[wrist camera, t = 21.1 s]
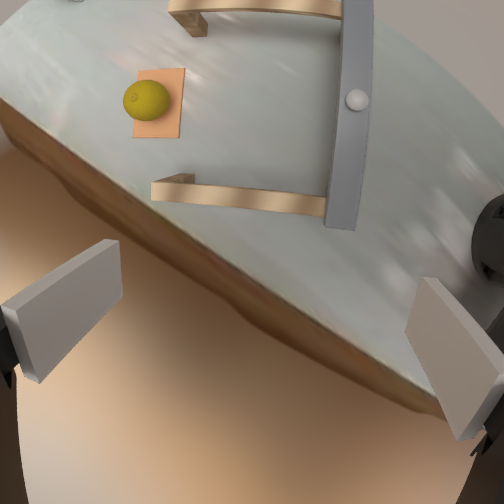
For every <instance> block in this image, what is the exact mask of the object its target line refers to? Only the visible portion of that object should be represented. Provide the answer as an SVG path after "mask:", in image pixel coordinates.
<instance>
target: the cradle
mask: <svg viewBox="0 0 504 504" xmlns="http://www.w3.org/2000/svg"><path fill="white" fill-rule="evenodd" d="M219 11H253V12H275V13H289V14H300V15H309V16H317V17H324V18H331V19H337V20H341V2H339V1H333V0H170V1H169V6H168V13H169V14H170V15H171V16H172V17H173V18H174V19H175V20H176V21H177V22H178V23H179V24H180V25H181V26H182V27H183V28H184V29H185V30H186V31H187V32H188V33H189V34H190V35H191V36H192V37H203V36H207V28H208V24H207V22H206V21H205V19H204V18H203V17H202V15H201V14H200V13H199V12H219ZM327 189H328V188H327ZM326 197H327V196H326ZM326 197H324V196H316V195H308V194H300V193H291V192H282V191H273V190H264V189H253V188H243V187H232V186H220V185H207V184H194V174H177V175H174V176H171V177H167V178H164V179H161V180H157V181H154V182H151V200H155V201H168V202H181V203H193V204H205V205H216V206H227V207H237V208H247V209H257V210H266V211H275V212H284V213H293V214H302V215H310V216H318V217H324V212H325V204H326Z"/></svg>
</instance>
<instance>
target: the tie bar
mask: <svg viewBox="0 0 504 504" xmlns="http://www.w3.org/2000/svg"><path fill="white" fill-rule="evenodd" d="M373 11H374V10H373V0H341V34H340V56H339V73H338V88H337V101H336V113H335V125H334V135H333V145H332V155H331V164H330V172H329V181H328V189H327V197H326V204H325V212H324V219H323V223H324V226H325V227H328V228H336V229H343V230H351V231H355V227H356V221H357V214H358V208H359V201H360V195H361V188H362V180H363V173H364V165H365V156H366V147H367V138H368V127H369V116H370V103H371V89H372V70H373V35H374V12H373Z"/></svg>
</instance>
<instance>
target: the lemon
mask: <svg viewBox="0 0 504 504" xmlns="http://www.w3.org/2000/svg"><path fill="white" fill-rule="evenodd" d="M123 105H124V108H125V110H126V112H127V113H128V114H129V115H130V116H131V117H132V118H134V119H136V120H139V121H152V120H155V119H157V118H159V117H161V116H162V115H163V114H164V113H165V112H166V110H167V108H168V105H169V94H168V91H167V89H166V88H165V87H164V86H163V85H162V84H161V83H159V82H157V81H154V80H141V81H137V82H135V83H134V84H132V85H131V86H130V87H129V88H128V89H127V90H126V92H125V95H124V98H123Z"/></svg>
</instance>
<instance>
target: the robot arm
mask: <svg viewBox="0 0 504 504" xmlns="http://www.w3.org/2000/svg"><path fill="white" fill-rule="evenodd" d="M472 258H473V262H474V265H475V268H476V270H477V271H478V273H479V274H480V275H481V276H482V277H483V278H484V279H485V280H486V281H487V282H489V283H490V284H492V285H494V286H497V287H502V288H504V195H501V196H499V197H497V198H495V199H494V200H492V201H491V202H490V203H489V204H488V205H487V206H486V208H485V209H484V210H483V212H482V213H481V215H480V217H479V219H478V221H477V224H476V226H475V230H474V233H473V239H472ZM122 297H123V290H122V278H121V265H120V249H119V241H117V240H108V239H104V240H103V241H101V242H99V243H97V244H96V245H94V246H92V247H90V248H89V249H87V250H85V251H84V252H82V253H80V254H79V255H77V256H75V257H74V258H72V259H70V260H69V261H67V262H66V263H64V264H63V265H61V266H59V267H57V268H56V269H54V270H53V271H51V272H49V273H48V274H46V275H45V276H43V277H42V278H40V279H39V280H37V281H35V282H34V283H32V284H31V285H29V286H28V287H26V288H25V289H24V290H22V291H20V292H19V293H18V294H16V295H15V296H13V297H12V298H10V299H9V300H7V301H6V302H4V303H3V304H1V305H0V504H29V502H28V498H27V493H26V488H25V482H24V477H23V469H22V462H21V455H20V446H19V435H18V422H17V397H16V396H17V395H16V393H17V392H16V380H17V379H16V373H15V371H14V367H15V366H16V365H17V364H18V363H19V364H20V366H21V369H22V372H23V374H24V377H27V378H28V379H31V380H33V381H35V382H37V383H39V384H40V383H41V382H42V381H43V380H44V379H45V378H46V377H47V375H48V374H49V373H50V372H51V371H52V370H53V369H54V368H55V367H56V366H57V364H58V363H59V362H60V361H61V360H62V359H63V358H64V357H65V356H66V355H67V354H68V353H69V352H70V351H71V350H72V348H73V347H74V346H75V345H76V344H77V343H78V342H79V341H80V340H81V339H82V338H83V337H84V336H85V335H86V334H87V333H88V332H89V331H90V330H91V329H92V328H93V327H94V326H95V324H97V322H98V321H99V320H100V319H101V318H102V317H103V316H104V315H105V314H106V313H107V312H108V311H109V310H110V309H111V308H112V307H113V306H114V305H115V304H116V303H117V302H118V301H119V300H120V299H121V298H122ZM405 333H406V335H407V337H408V339H409V341H410V343H411V345H412V347H413V349H414V351H415V353H416V355H417V357H418V359H419V361H420V363H421V365H422V367H423V369H424V371H425V373H426V375H427V377H428V379H429V381H430V383H431V385H432V388H433V390H434V392H435V394H436V396H437V398H438V401H439V403H440V405H441V407H442V409H443V412H444V414H445V416H446V419H447V421H448V423H449V426H450V428H451V430H452V433H453V435H454V438H455V440H456V441H462V440H467V439H473V438H474V437H475V436H476V435H477V433H478V432H479V431H480V429H481V428H482V426H483V427H484V428H485V429H486V431H487V433H486V435H485V436H484V437H483V439H482V440H481V441H480V442H479V444H478V445H477V446H476V448H475V449H474V450H473V451H472V453H471V454H470V456H473V455H474V454H475V453H476V452H477V455H476V457H475V460H474V463H473V466H472V468H471V470H470V473H469V475H468V478H467V480H466V482H465V485H464V487H463V489H462V491H461V493H460V496H459V498H458V500H457V502H456V504H504V307H503V309H502V310H501V312H500V313H499V314H498V316H497V317H496V318H495V320H494V321H493V322H492V324H491V325H490V326H489V328H488V329H487V330H486V331H484V330H483V329H482V328H481V327H480V325H479V324H478V323H477V322H476V321H475V320H474V319H473V317H472V316H471V315H470V314H469V313H468V312H467V311H466V309H465V308H464V307H463V306H462V305H461V304H460V303H459V302H458V301H457V300H456V298H455V297H454V296H453V295H452V294H451V293H450V292H449V291H448V290H447V289H446V288H445V287H444V286H443V285H442V284H441V282H440V281H439V280H438V279H437V278H432V277H423V276H422V277H421V281H420V284H419V288H418V291H417V294H416V298H415V301H414V304H413V307H412V311H411V314H410V317H409V320H408V323H407V326H406V329H405Z"/></svg>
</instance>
